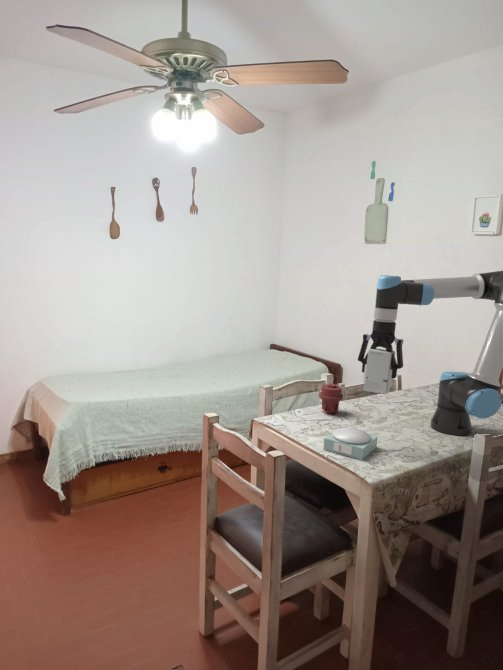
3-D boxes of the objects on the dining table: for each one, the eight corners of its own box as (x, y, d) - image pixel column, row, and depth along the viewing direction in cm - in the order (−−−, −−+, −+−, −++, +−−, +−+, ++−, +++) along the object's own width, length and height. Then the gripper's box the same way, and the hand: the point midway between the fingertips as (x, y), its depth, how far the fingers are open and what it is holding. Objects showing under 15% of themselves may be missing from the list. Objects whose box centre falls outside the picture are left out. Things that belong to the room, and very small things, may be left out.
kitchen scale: (376, 447, 173) (377, 433, 172) (361, 460, 161) (362, 446, 160) (339, 437, 181) (340, 424, 180) (322, 449, 169) (323, 436, 168)
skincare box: (363, 390, 172) (366, 349, 170) (368, 387, 177) (372, 346, 175) (386, 395, 168) (390, 352, 166) (391, 391, 173) (395, 350, 171)
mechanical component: (316, 408, 213) (338, 409, 214) (320, 416, 203) (343, 417, 204) (318, 381, 211) (341, 381, 212) (322, 387, 201) (346, 388, 202)
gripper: (418, 323, 166) (410, 388, 169) (360, 315, 177) (353, 376, 181) (412, 325, 160) (404, 392, 163) (351, 317, 171) (345, 380, 175)
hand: (377, 384), depth 172 cm, fingers closed on skincare box, 8 cm apart
